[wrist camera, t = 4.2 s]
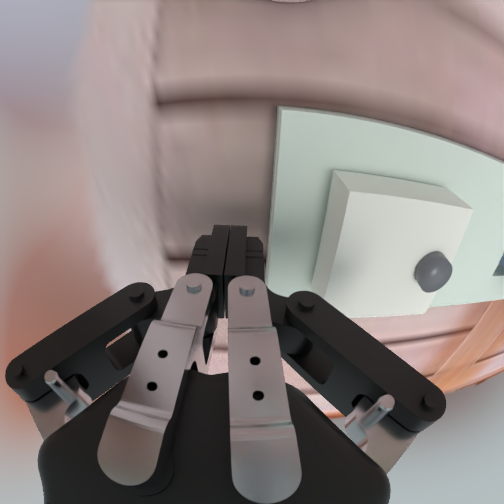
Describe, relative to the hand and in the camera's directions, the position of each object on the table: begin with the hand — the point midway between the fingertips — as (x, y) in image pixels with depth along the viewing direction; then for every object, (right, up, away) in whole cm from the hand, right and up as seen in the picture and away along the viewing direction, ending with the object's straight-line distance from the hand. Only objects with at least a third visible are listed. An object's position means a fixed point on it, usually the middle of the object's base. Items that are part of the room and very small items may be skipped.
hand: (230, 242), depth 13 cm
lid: (+8, 0, +1) cm, 8 cm away
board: (+16, +2, +3) cm, 16 cm away
